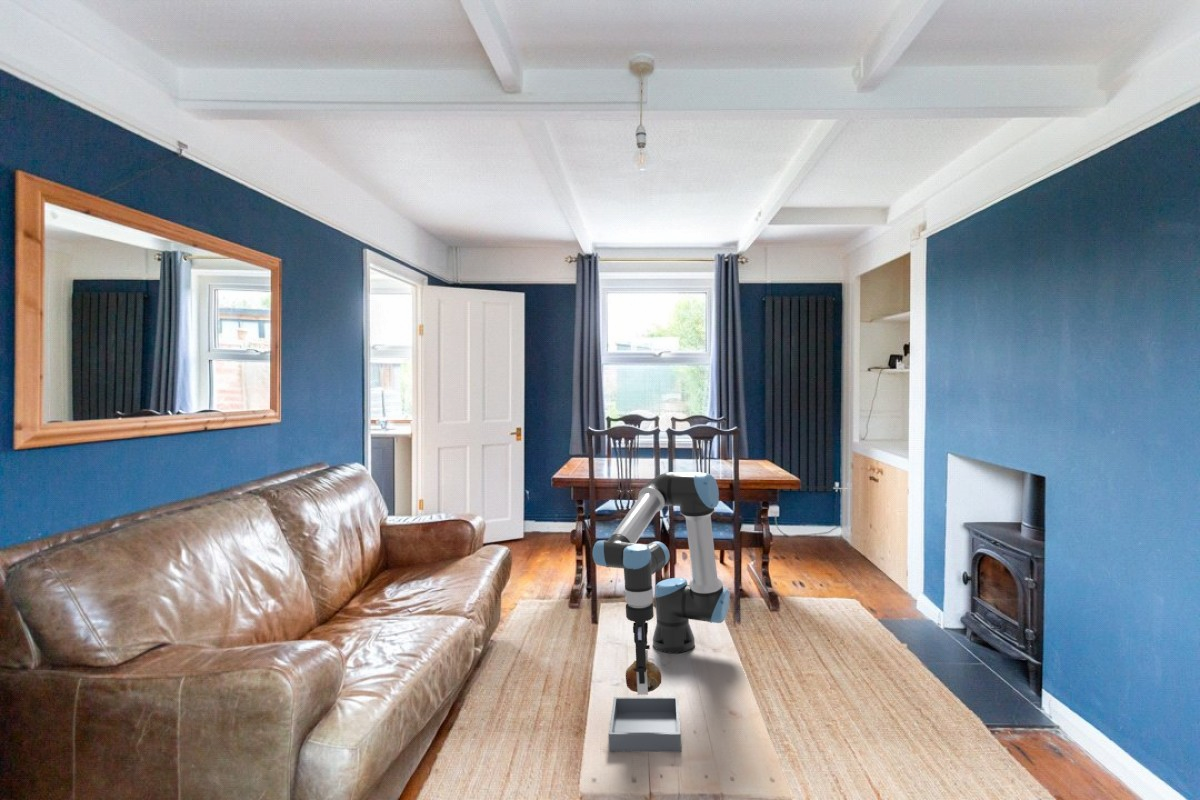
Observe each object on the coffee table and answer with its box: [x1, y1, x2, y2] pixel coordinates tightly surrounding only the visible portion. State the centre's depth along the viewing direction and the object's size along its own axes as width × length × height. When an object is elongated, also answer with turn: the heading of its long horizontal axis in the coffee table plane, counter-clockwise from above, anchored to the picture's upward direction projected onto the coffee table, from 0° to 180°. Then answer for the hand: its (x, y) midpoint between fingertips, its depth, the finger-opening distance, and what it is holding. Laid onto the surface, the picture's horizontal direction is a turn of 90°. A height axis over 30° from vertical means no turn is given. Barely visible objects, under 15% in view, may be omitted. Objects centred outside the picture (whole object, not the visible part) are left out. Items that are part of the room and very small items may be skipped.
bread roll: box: [625, 660, 662, 693], centre depth 164 cm, size 10×10×8 cm
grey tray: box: [608, 696, 682, 753], centre depth 164 cm, size 19×19×4 cm
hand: (643, 683), depth 163 cm, fingers closed on bread roll, 10 cm apart
